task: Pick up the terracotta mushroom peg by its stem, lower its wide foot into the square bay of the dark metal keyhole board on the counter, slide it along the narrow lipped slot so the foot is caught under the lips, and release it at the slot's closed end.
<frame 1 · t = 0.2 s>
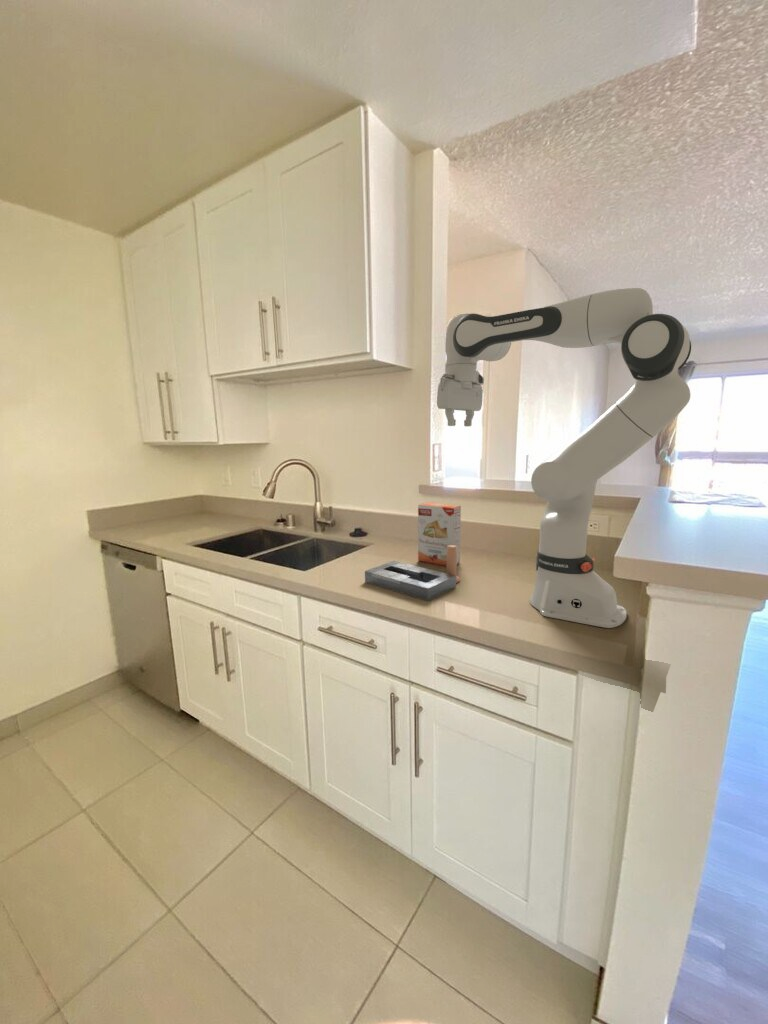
hand: (459, 426, 121), 47 cm above the counter, fingers open, 8 cm apart
cracker box: (438, 562, 148), on the counter
keyhole board: (409, 584, 126), on the counter
peg: (451, 580, 129), on the counter
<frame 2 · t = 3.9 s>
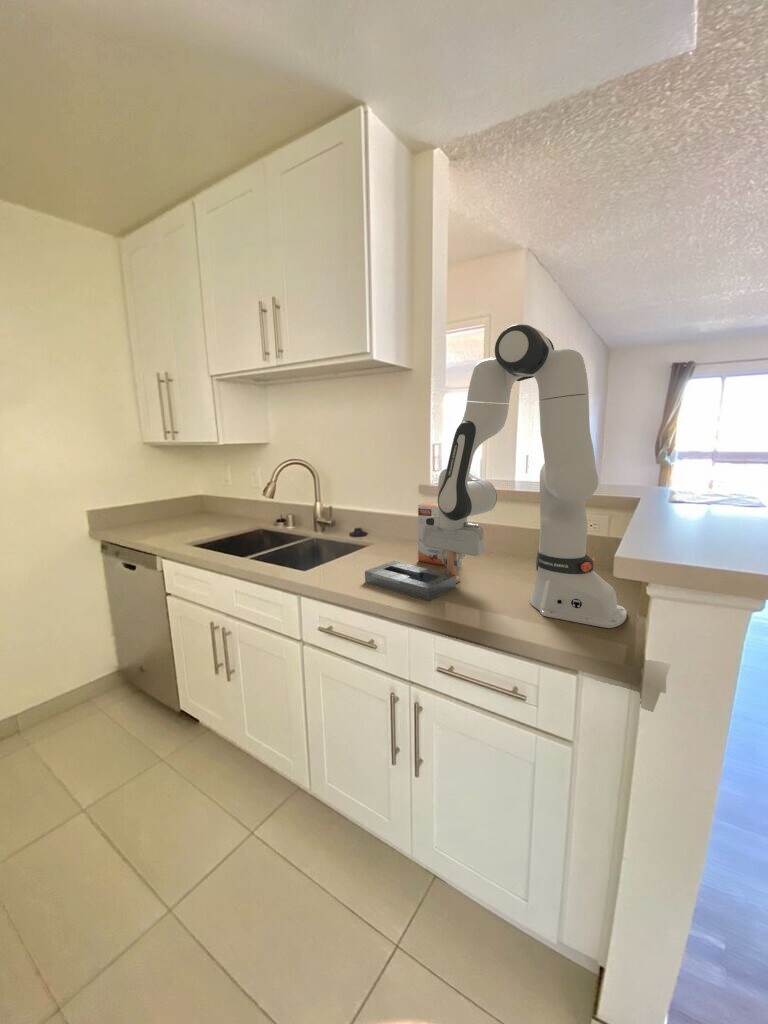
hand: (451, 564, 128), 5 cm above the counter, fingers closed on peg, 3 cm apart
peg: (451, 580, 129), on the counter, touching gripper
everything else where it was.
when the fingers open (6 cm above the counter, at t = 12.9 s): peg stays where it is, resting on keyhole board.
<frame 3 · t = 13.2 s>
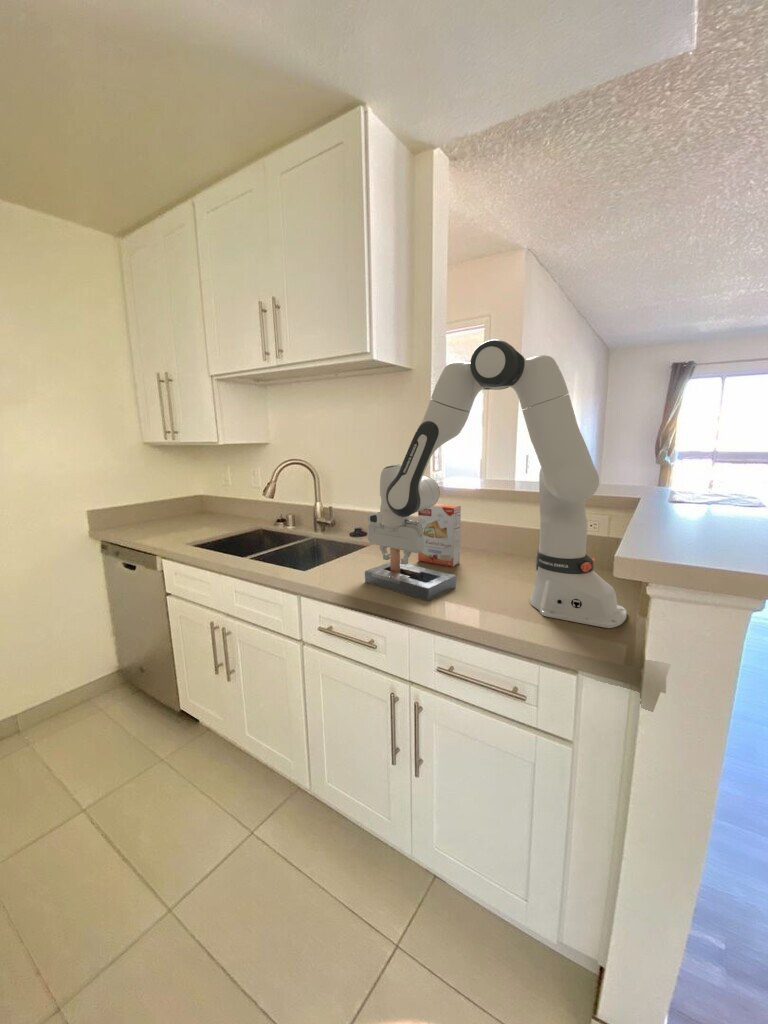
hand: (395, 561, 128), 6 cm above the counter, fingers open, 6 cm apart
peg: (395, 578, 129), point 1 cm above the counter, touching keyhole board
everything else where it was.
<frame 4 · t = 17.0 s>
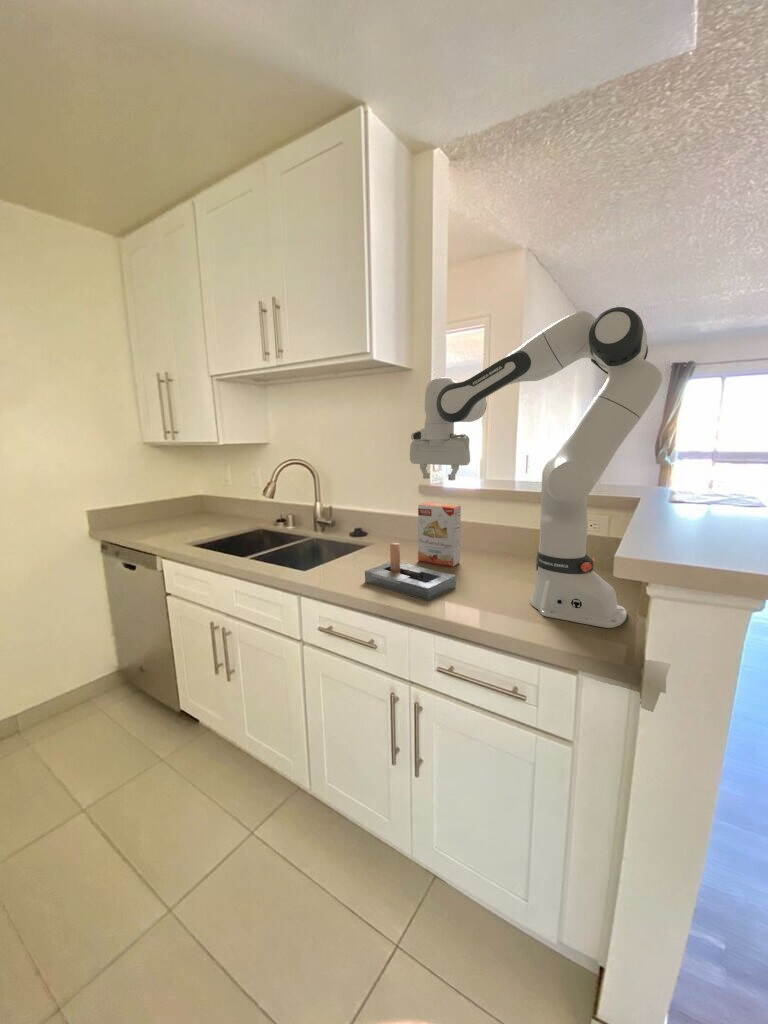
hand: (438, 479, 128), 31 cm above the counter, fingers open, 8 cm apart
nothing on the counter moved.
at the end: peg 0.8 cm from the target spot on the keyhole board, point 0.8 cm above the keyhole board's base; peg tilted 1°; the gripper is holding nothing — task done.
